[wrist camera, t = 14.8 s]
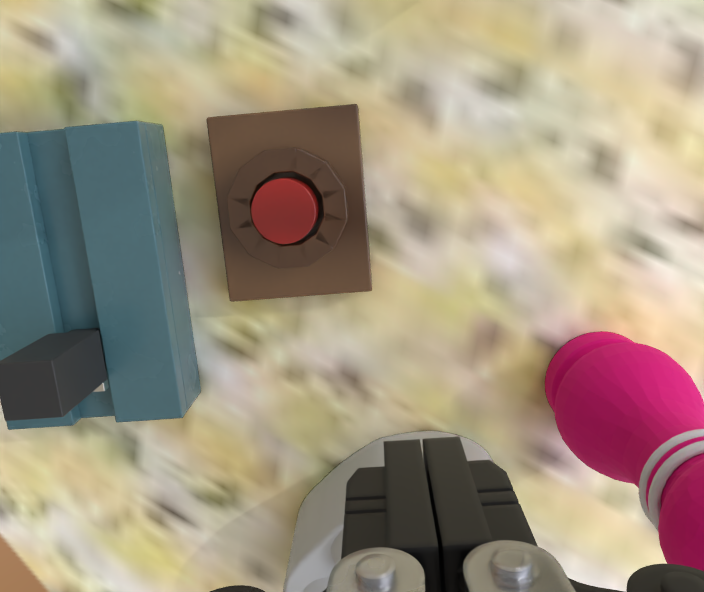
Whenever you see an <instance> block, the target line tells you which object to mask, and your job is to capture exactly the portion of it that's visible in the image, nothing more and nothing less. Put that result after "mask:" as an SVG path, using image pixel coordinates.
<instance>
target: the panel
mask: <svg viewBox="0 0 704 592" xmlns="http://www.w3.org/2000/svg"><path fill="white" fill-rule="evenodd" d="M207 127H208V134H209V142H210V150H211V158H212V166H213V173H214V181H215V189H216V197H217V204H218V212H219V220H220V228H221V235H222V243H223V251H224V259H225V267H226V274H227V282H228V290H229V298H230V301H246V300H259V299H272V298H285V297H298V296H312V295H325V294H338V293H351V292H365V291H372V276H371V263H370V250H369V237H368V225H367V212H366V199H365V186H364V173H363V161H362V148H361V135H360V122H359V109H358V105H357V104H351V105H340V106H329V107H318V108H306V109H295V110H284V111H273V112H262V113H250V114H239V115H228V116H217V117H208V118H207ZM284 177H289V178H295V179H298V180H300V181H302V182H304V183H305V184H307V185H308V186H309V187H310V188H311V189H312V191H313V192H314V194H315V196H316V198H317V201H318V208H319V211H318V217H317V220H316V223H315V225H314V226H313V228H312V229H311V230H310V231H309V233H308V234H307V235H306V236H305V237H303V238H302V239H300V240H299V241H296V242H294V243H289V244H279V243H275V242H272V241H270V240H268V239H266V238H265V237H264V236H262V235H261V234H260V233H259V231H258V230H257V229H256V227H255V225H254V223H253V220H252V215H251V205H252V201H253V198H254V196H255V194H256V193H257V191H258V190H259V189H260V188H261V187H262V186H263V185H264V184H266V183H267V182H269V181H272V180H275V179H279V178H284Z"/></svg>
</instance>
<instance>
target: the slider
mask: <svg viewBox="0 0 704 592" xmlns="http://www.w3.org/2000/svg"><path fill="white" fill-rule="evenodd" d="M106 380H107V374H106V364H105V359H104V353H103V347H102V342H101V336H100V330H99V328H89V329H75V330H71V331H69V332H66V333H53V334H47V335H46V336H44V337H42V338H40V339H38V340H37V341H35V342H33V343H31V344H29V345H28V346H26V347H24V348H22V349H20V350H19V351H17V352H15V353H13V354H11V355H10V356H8V357H6V358H4V359H2V360H1V361H0V399H1V404H2V409H3V413H4V418H5V421H13V420H27V419H42V418H57V417H64V416H65V415H66V414H67V413H68V412H69V411H71V410H72V409H73V408H74V407H75V406H77V405H78V404H79V403H80V402H81V401H82V400H84V399H85V398H86V397H87V396H88V395H89V394H91V393H92V392H93V391H94V390H95V389H97V388H98V387H99V386H100V385H101V384H102V383H104V382H105V381H106Z"/></svg>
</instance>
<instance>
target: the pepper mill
mask: <svg viewBox="0 0 704 592" xmlns="http://www.w3.org/2000/svg"><path fill="white" fill-rule="evenodd" d="M545 392H546V397H547V399H548V402H549V404H550V406H551V408H552V409H553V411H554V412H555V419H556V423H557V427H558V430H559V432H560V434H561V436H562V439H563V440H564V442H565V443H566V445H567V446H568V447H569V449H570V450H571V451H572V452H573V453H574V454H575V455H576V456H577V457H578V458H579V459H580V460H581V461H582V462H583V463H585V464H586V465H587V466H588V467H590V468H592V469H594V470H596V471H597V472H599V473H601V474H604V475H606V476H608V477H610V478H613V479H615V480H619V481H623V482H628V483H633V484H635V485H636V486H637V487H638V488H639V498H640V502H641V506H642V508H643V510H644V513H645V515H646V516H647V517H648V519H649V520H650V521H651V522H652V524H653V525H654V526H655V527H656V529H657V530H658V532H659V540H660V546H661V548H662V551H663V554H664V557H665V560H666V562H667V563H668V564H676V565H683V566H688V567H692V568H696V569H699V570H702V571H704V402H703V399H702V397H701V394H700V392H699V391H698V389H697V387H696V385H695V383H694V382H693V380H692V378H691V377H690V376H689V374H688V373H687V372H686V371H685V370H684V369H683V368H682V367H681V366H680V365H679V364H678V363H677V362H676V361H674V360H673V359H672V358H671V357H670V356H668V355H667V354H665V353H664V352H662V351H660V350H658V349H656V348H653V347H650V346H647V345H643V344H638V343H634V342H633V341H631V340H630V339H628V338H626V337H624V336H621V335H619V334H615V333H611V332H593V333H587V334H584V335H581V336H579V337H577V338H575V339H573V340H571V341H569V342H568V343H566V344H565V345H564V346H563V347H562V348H561V349H560V350H559V351H558V352H557V353H556V354H555V356H554V357H553V359H552V360H551V362H550V364H549V367H548V369H547V372H546V378H545Z"/></svg>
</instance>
